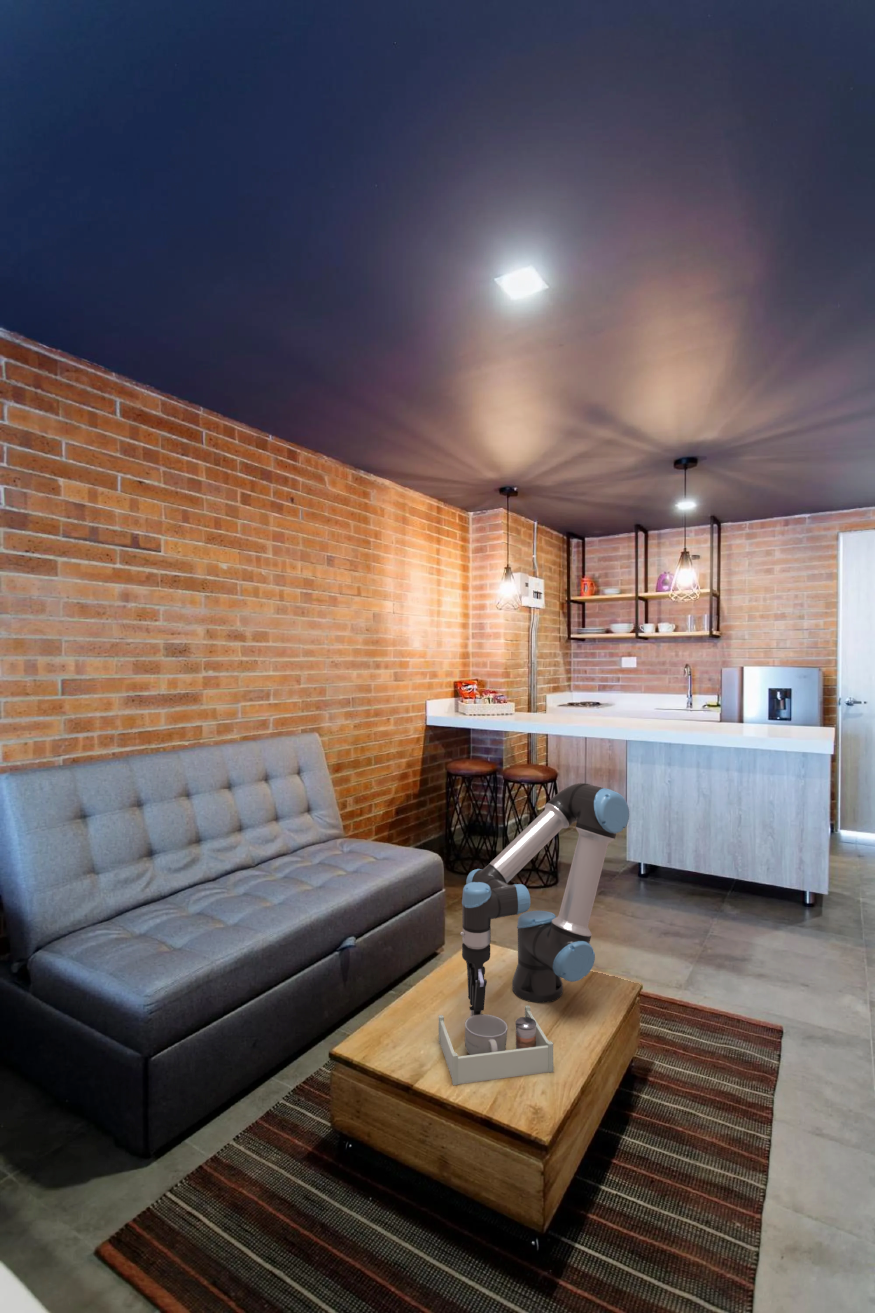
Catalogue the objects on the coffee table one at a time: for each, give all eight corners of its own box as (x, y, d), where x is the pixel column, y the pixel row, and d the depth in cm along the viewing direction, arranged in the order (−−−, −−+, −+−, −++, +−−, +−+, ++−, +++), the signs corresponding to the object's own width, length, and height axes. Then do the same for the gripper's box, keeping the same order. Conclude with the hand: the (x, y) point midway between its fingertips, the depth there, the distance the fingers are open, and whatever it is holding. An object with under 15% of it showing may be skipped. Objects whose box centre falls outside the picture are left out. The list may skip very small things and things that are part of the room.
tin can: (532, 1047, 166) (532, 1016, 166) (539, 1059, 161) (538, 1027, 161) (513, 1050, 165) (512, 1018, 165) (519, 1062, 160) (519, 1029, 160)
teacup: (464, 1043, 168) (464, 1012, 168) (505, 1043, 168) (505, 1012, 168) (466, 1077, 154) (465, 1044, 154) (511, 1077, 154) (510, 1043, 154)
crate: (529, 1030, 174) (528, 1005, 174) (553, 1072, 156) (553, 1044, 156) (438, 1041, 169) (438, 1015, 169) (453, 1085, 151) (452, 1056, 151)
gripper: (457, 934, 176) (456, 1019, 176) (468, 955, 164) (467, 1047, 164) (483, 932, 178) (483, 1016, 178) (496, 953, 165) (496, 1044, 165)
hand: (475, 1031), depth 171 cm, fingers closed
